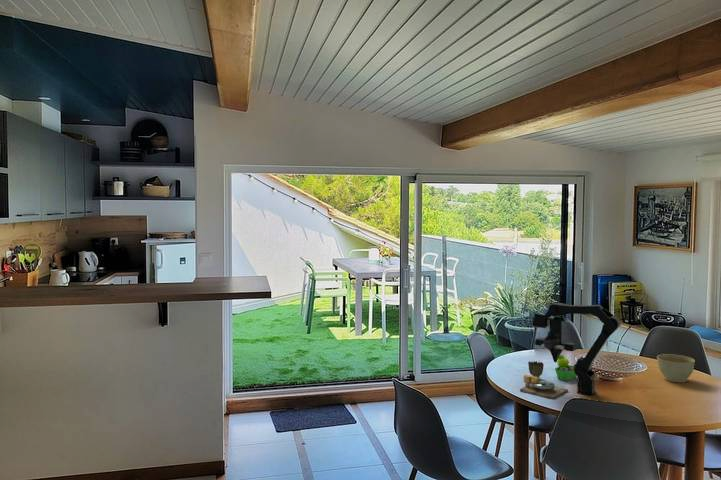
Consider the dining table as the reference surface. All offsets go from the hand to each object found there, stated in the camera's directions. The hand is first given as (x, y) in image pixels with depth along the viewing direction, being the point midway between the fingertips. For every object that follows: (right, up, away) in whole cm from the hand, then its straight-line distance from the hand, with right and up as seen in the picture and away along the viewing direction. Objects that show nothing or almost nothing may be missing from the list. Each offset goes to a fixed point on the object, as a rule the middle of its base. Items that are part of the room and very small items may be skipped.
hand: (555, 362), depth 253 cm
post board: (-8, -12, -6) cm, 16 cm away
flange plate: (-9, -10, -4) cm, 14 cm away
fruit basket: (+11, -12, +15) cm, 22 cm away
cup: (-5, -12, +14) cm, 19 cm away
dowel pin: (-14, -12, -2) cm, 19 cm away
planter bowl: (+63, -11, +10) cm, 65 cm away
